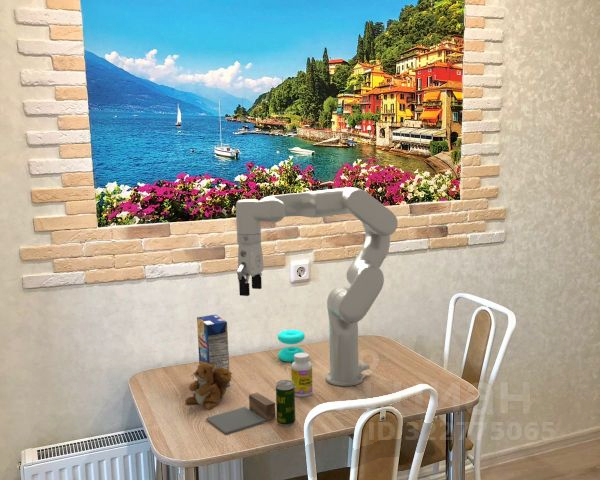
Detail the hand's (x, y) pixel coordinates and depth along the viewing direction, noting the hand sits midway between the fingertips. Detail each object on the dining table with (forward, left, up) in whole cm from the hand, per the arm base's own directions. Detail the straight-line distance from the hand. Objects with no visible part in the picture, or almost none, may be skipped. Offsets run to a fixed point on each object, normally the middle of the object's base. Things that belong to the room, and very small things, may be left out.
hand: (250, 292), depth 203 cm
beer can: (+5, +27, -33) cm, 43 cm away
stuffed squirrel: (+15, -1, -33) cm, 37 cm away
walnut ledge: (+7, +17, -33) cm, 38 cm away
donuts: (-27, -18, -33) cm, 47 cm away
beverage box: (+7, -14, -33) cm, 37 cm away
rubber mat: (+16, +17, -33) cm, 40 cm away
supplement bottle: (-11, +12, -33) cm, 37 cm away
